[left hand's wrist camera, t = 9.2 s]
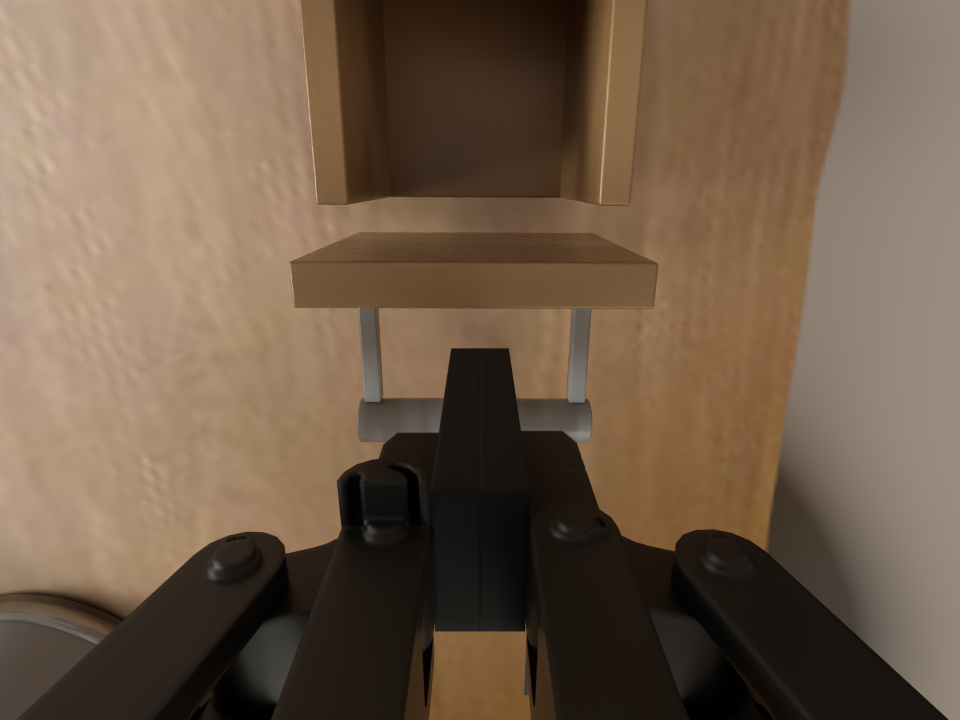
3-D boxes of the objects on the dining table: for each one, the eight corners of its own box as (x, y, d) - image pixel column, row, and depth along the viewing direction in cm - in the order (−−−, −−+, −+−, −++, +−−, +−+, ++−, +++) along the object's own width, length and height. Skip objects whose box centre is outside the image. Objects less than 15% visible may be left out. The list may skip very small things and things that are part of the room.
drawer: (582, 401, 24) (633, 511, 16) (368, 401, 24) (313, 509, 16) (625, -254, 17) (751, -628, 9) (326, -255, 17) (195, -633, 9)
